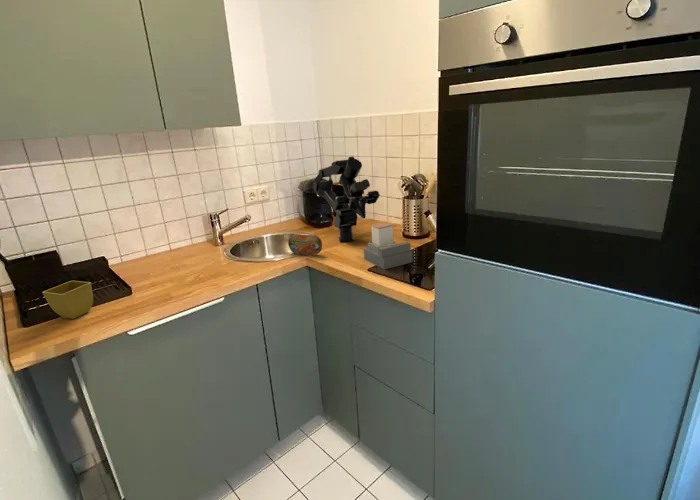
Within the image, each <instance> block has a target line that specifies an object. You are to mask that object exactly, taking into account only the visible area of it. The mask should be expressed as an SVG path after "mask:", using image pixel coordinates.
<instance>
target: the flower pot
mask: <svg viewBox="0 0 700 500" xmlns="http://www.w3.org/2000/svg"><path fill="white" fill-rule="evenodd" d="M42 295H43V297H44V298H45V300H46V302H47V303H48V305H49V306H50V308H51V310H52V311H54V312H55V314H57V315H58V316H60V317H61V318H65V319H76V318H78V317H80V316H82V315H85V314H86V313H89V312H90V311H91V309H92V307H93V303H94V294H93V288H92V282H90V281H79V280H70V281H67V282H64V283H62V284H59V285H57V286H54V287H51V288H48V289H46V290H44V291H42Z"/></svg>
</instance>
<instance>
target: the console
mask: <svg viewBox="0 0 700 500" xmlns="http://www.w3.org/2000/svg"><path fill="white" fill-rule="evenodd" d="M367 245H368V247H364V248H363V259H364V260H365V261H367V262H370V263H371V264H373V265H375V266H377V267H378V268H380V269H382V270H388V269H391V268H394V267H395V268H396V267H399V266H403V265H406V264H407V265H408V264H410V263H413V251H412V249H411V242H409V241H403V242H401V243H400V242H399V243H398V242H397V241H394V240H393V244H390V245H387V246H386V247H382V248H380V247H379V246H377V245H375V244H373V243H372V242H368V243H367Z"/></svg>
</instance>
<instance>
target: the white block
mask: <svg viewBox="0 0 700 500" xmlns="http://www.w3.org/2000/svg"><path fill="white" fill-rule="evenodd" d="M370 227H371V228H370V229H371V243H373V244H375V245H377V246H379V247H380V248H382V247H386V246H387V245H390V244H393V241H394V226H393V224H392V223H390V222H385V221H384V222H379V223H373V224H371V225H370Z"/></svg>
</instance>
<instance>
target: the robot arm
mask: <svg viewBox="0 0 700 500" xmlns="http://www.w3.org/2000/svg"><path fill="white" fill-rule="evenodd" d="M362 163H363V162H362V161H360V160H359V159H357V158H355V157H354V156H348V159H341V160H334V161H333V162H332V163H331V165H330V166H327V167H324V168H320V169H319V170H318V174H317V175H316V176H315V178H314V180H313V186H312V188H313V191H314V193H315V194H316V195H317V196H319V197H322V198H324V199H325V201H326V202H327V203H328V205H329V206H330V207H331V209H333V211H334V212H335V214H336V215H335V219H334V221H333V224H334V227H335V228H337V229H338V230H339V237H338V241H339V242H340V243H344V242H345V243H346V242H353V241H355V238H354V236H353V226H355V227H356V226H357V222H358V215H359V216H360V217H361V218H362V219H365V218H366V217H367V215H366V204H368V205H371V204H372V205H373V204H376V203H377V201H378V199H379V198H380V196H381V195H380V192H379V191H378V190H376V189H375V190H370V191H368V192H367V194H366V195H364V193H365V190H367V189H369V187H370V185H371V184H370V181H369V180H368V179H365V178H364V179H363V180H361V181H356V178H357V177H358V176H359V173H360V171H361V169H362V167H363V164H362ZM338 175H340V177H339V180H338V184H339V185H340V184H341V185H342V187H343V190H344V192H343V194H344V195H342V196H338V195H336V193H335V192H334V190H333V184H334V180H333V178H332V176H338ZM323 178H329V179H327V180H326V179H325V180H323Z"/></svg>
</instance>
